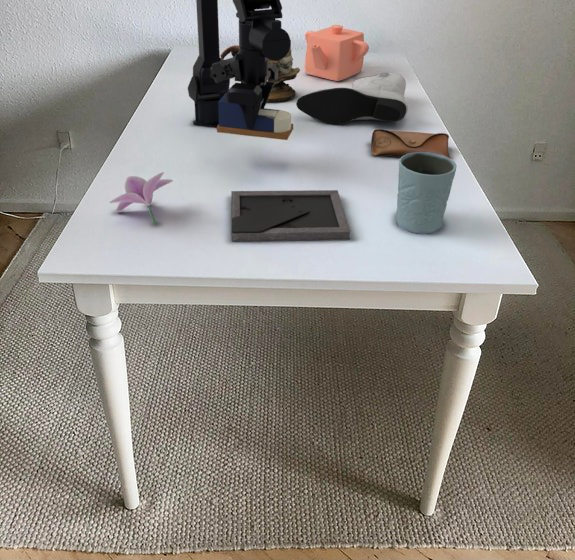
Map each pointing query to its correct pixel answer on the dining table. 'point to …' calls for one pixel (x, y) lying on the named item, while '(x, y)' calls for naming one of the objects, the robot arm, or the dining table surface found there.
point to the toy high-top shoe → (265, 126)
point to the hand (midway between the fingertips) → (253, 123)
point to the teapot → (335, 52)
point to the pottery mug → (232, 49)
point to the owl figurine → (283, 79)
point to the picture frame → (288, 215)
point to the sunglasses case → (408, 143)
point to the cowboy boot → (358, 101)
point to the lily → (140, 191)
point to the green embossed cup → (423, 191)
